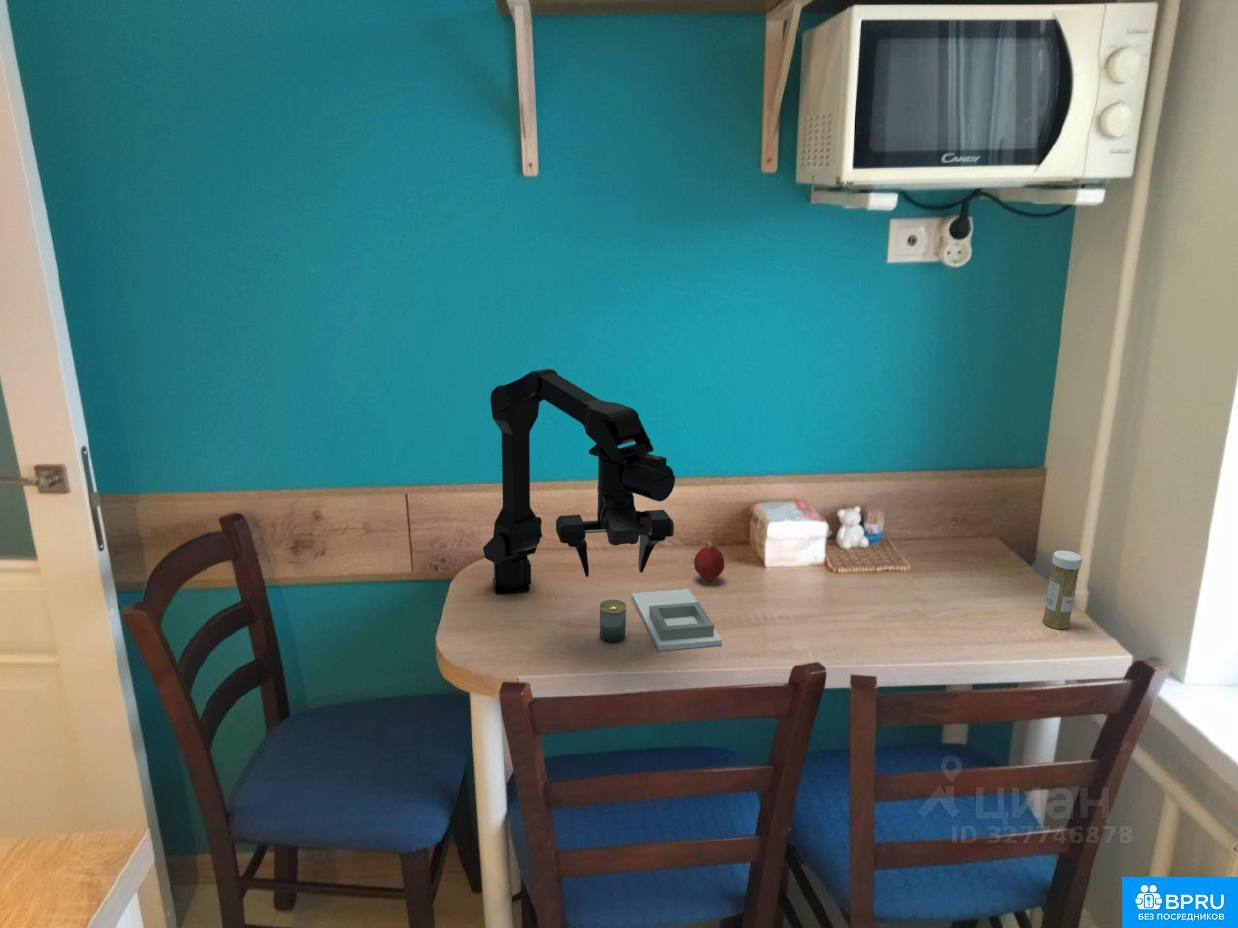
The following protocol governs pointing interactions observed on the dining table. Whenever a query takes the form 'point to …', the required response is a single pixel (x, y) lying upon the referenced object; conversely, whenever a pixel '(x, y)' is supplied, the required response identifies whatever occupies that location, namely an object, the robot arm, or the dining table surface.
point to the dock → (675, 620)
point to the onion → (709, 562)
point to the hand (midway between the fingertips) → (613, 573)
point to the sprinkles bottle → (1061, 589)
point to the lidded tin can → (612, 621)
